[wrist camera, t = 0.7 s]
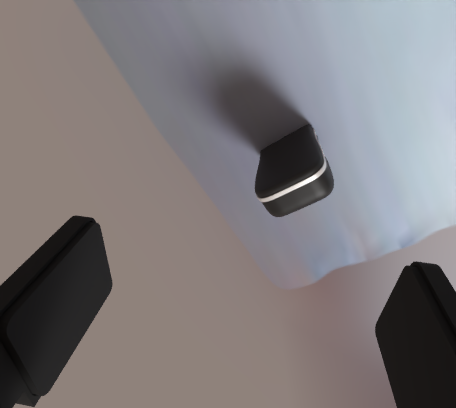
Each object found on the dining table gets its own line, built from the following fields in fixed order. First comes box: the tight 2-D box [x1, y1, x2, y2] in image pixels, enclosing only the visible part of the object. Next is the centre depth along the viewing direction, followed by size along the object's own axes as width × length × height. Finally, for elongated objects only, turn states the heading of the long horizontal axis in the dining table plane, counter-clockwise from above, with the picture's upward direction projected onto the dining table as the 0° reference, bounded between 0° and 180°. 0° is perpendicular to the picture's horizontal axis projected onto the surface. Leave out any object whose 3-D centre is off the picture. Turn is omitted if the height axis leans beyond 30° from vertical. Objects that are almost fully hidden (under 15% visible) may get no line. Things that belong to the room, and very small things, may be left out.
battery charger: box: [255, 124, 334, 217], centre depth 31 cm, size 7×4×11 cm, turn 124°
